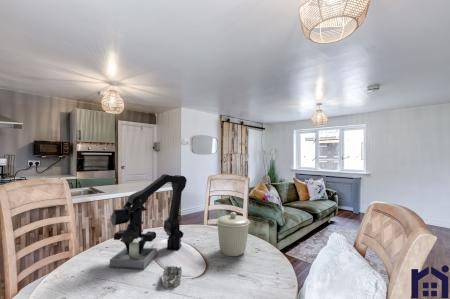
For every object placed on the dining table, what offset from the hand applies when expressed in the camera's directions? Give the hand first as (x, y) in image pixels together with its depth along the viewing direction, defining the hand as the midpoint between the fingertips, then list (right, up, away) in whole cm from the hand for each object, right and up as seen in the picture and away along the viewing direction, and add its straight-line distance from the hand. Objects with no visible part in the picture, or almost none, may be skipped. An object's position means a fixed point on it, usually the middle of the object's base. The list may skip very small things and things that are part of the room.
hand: (134, 253), depth 104 cm
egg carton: (+21, -4, -15) cm, 26 cm away
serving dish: (0, -4, 0) cm, 4 cm away
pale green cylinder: (0, -2, 0) cm, 2 cm away
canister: (+47, -5, +12) cm, 49 cm away
